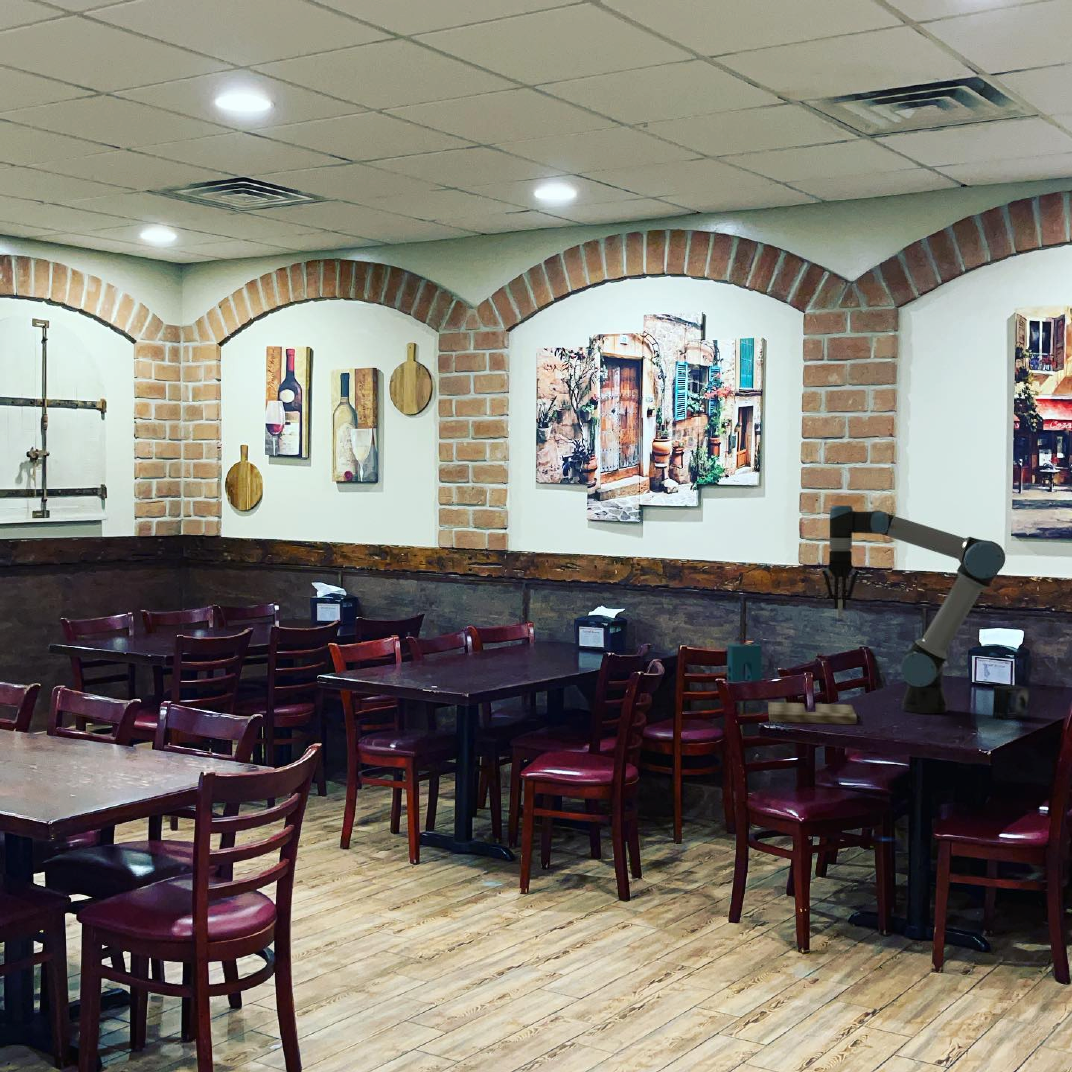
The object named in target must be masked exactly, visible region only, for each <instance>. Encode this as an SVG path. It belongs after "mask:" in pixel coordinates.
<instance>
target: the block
mask: <svg viewBox="0 0 1072 1072" xmlns="http://www.w3.org/2000/svg"><path fill="white" fill-rule="evenodd" d="M726 650H727V657H726V659H727V660H726V664H727V665H726V669H727V670H726V682H727V681H730V682H740V681H761V682H762V659H763V657H762V655H763V654H762V653H763V646H762V644H757V643H751V644H750V643H748V644H745V643H744V644H727V649H726ZM744 668H745V669H744ZM757 700H758V699H757ZM757 700H747V701H748V702H757ZM741 702H742V703H743V702H744V703H745V702H746V700H745V701H738V702H737V703H741Z"/></svg>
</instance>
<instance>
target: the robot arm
mask: <svg viewBox="0 0 1072 1072" xmlns="http://www.w3.org/2000/svg"><path fill="white" fill-rule="evenodd" d="M829 513H830V514H829V519H828V520H829V549H830V551H828V552H829V555H828V559H829V560H828V561H829V562H828V564H827V567H826V568H825V569H822V570H821V574H822V575H823V577H824V580H825V584H826V590H827V593H828V597H829V598H831V599H833V608H834V610H836V612H837V613H836V618H837V619H838V620H840V619H843V610H845V609H846V607H847V605H846V603H847V599H851V597H852V596H853V592H854V587H855V583H856V580H857V577H858V575H859V574H860V571H859V570H858V569H855V568H854V566H853V563H852V560H853V559H852V557H853V555H852V551H851V550H852V549H853V534H871V535H872V534H875V535H882V536H884V537H885V536H886V537H889V538H891V539H895V540H898V541H901V542H904V543H907V544H910V545H913V546H916V547H919V548H922V549H926V550H928V551H932V552H935V553H938V554H941V555H944V556H947V557H949V558H954V559H956V560H957V561H959V563H960V564H959V566H958V568H957V570H956V573H957V578H956V581H955V582H954V584H953V586H952V587H951V589H950V591H949V592H948V594H947V596H946V597H945V599H944V601H943V602H942V604H941V606H940V607H939V609H938V611H937V613H936V614H935V616H934V618H933V619H932V621H931V622H930V625H929V626H928V628H927V630H926V632H925V633H924V634H923V637H921V638H919V639H916V640H914V643H910V644H909V645H908V649H907V655H905V657H903V658H902V660H901V664H900V674H901V676H902V678H903V679H904V681H905V682H906V683H907V689H906V691H905V693H904V697H903V700H902V703H901V706H902V707H901V710H903V711H905V712H909V713H916V714H917V713H918V714H928V715H929V714H932V715H933V714H943V713H947V712H948V703H947V700H946V697H945V692H944V690H943V684H944V683H943V680H944V679H943V677H944V676H943V675H944V674H943V673H944V672H943V671H944V664H945V662H946V660H947V658H948V656H947V652H946V651H947V650H948V649H949V646H950V644H951V642H952V641H953V640H954V637H955V636H956V634H957V633H958V631H959V629H960V628H961V626H962V625H963V623H964V621H965V619H966V618H967V616H968V614H969V613H970V611H971V609H972V607H973V606H974V605H975V603H976V600H977V599H978V598H979V596H980V594H981V592H982V591H983V590H986V589H989V588H990V587H991V585H992V584H993V581H994V580H995V579H996V577H997V575H998V573H999V572H1000V571H1001V570H1002V569H1003V567H1004V566H1005V563H1006V554H1005V551H1004V549H1003V547H1002V546H1001V545H1000V544H998V543H996V542H994V541H992V540H985V539H979V538H976V537H972V536H968V537H963V536H959V535H957V534H953V533H950V532H947V531H943V530H940V529H937V528H933V527H931V526H928V525H924V524H922V523H918V522H914V521H911V520H908V519H905V518H902V517H899V516H896V515H892V514H889V513H887V511H886V512H885V511H882V510H877V509H876V510H871V511H870V510H869V511H856V510H855V511H854V510H853V506H851V505H832V506H831V507H830V511H829ZM830 573H831V575H832V576H833V579H834V581H833V584H834V585H833V590H832V586H831V581H830V576H829V574H830ZM850 573H851V575H852V576H851V578H850V581H849V586H848V590H847V577H848V576H849V575H850ZM839 578H841V599H839V584H840V583H839V580H840V579H839Z"/></svg>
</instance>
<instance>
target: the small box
mask: <svg viewBox="0 0 1072 1072" xmlns="http://www.w3.org/2000/svg"><path fill="white" fill-rule="evenodd" d="M1029 696H1030V688H1029V687H1026V686H1022V685H1018V684H1012V685H1011V684H1010V685H997V686H996V685H995V686H994V687H993V705H992V717H993V718H997V719H1002V720H1014V719H1015V720H1016V719H1017V720H1018V719H1028V718H1029V702H1030V701H1029V700H1030V698H1029Z"/></svg>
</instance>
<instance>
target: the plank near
mask: <svg viewBox="0 0 1072 1072" xmlns="http://www.w3.org/2000/svg"><path fill="white" fill-rule="evenodd" d="M815 712H821V713H853V714H856V713H855V710H854V707H853V705H852V704H836V703H835V704H833V703H831V704H830V703H829V704H828V703H815Z"/></svg>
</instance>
